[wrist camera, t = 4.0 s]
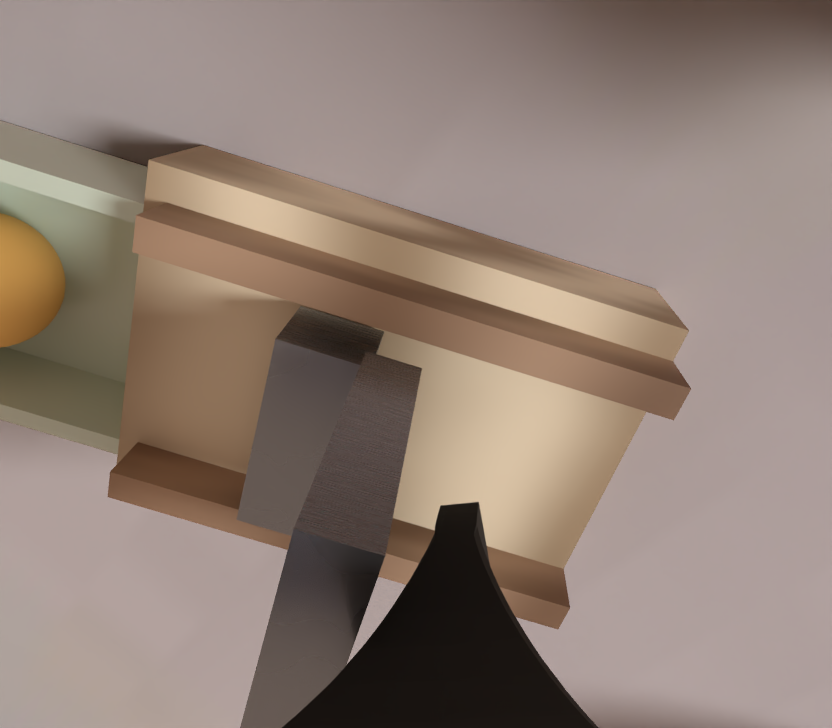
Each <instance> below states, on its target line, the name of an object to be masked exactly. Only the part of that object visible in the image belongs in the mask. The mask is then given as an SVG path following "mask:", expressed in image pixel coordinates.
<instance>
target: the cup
mask: <svg viewBox="0 0 832 728" xmlns="http://www.w3.org/2000/svg"><path fill="white" fill-rule="evenodd" d="M147 170H148V167H146V166H143V165H140V164H137V163H133V162H130V161H127V160H124V159H121V158H118V157H114V156H111V155H108V154H105V153H102V152H99V151H95V150H92V149H89V148H86V147H83V146H80V145H76V144H73V143H70V142H67V141H64V140H61V139H57V138H54V137H51V136H48V135H45V134H42V133H38V132H35V131H32V130H29V129H26V128H23V127H19V126H16V125H13V124H10V123H7V122H4V121H0V213H2V214H6V215H9V216H12V217H14V218H17V219H19V220H21V221H23V222H25V223H26V224H28V225H30V226H32V227H33V228H34V229H35V230H37V231H38V232H39V233H41V234H42V235H43V236H44V237H45V238H46V239H47V240H48V242H49V243H50V244H51V245H52V246H53V248H54V249H55V251H56V253H57V255H58V256H59V258H60V261H61V263H62V266H63V269H64V274H65V294H64V299H63V302H62V305H61V307H60V309H59V311H58V313H57V315H56V316H55V318H54V319H53V321H52V322H51V323H50V324H49V325H48V326H47V327H46V328H45V329H44V330H42V331H41V332H40V333H39V334H37V335H35V336H34V337H32V338H30V339H28V340H26V341H24V342H21V343H19V344H15V345H11V346H7V347H1V348H0V420H3V421H7V422H10V423H13V424H17V425H20V426H24V427H27V428H30V429H34V430H37V431H40V432H44V433H47V434H50V435H54V436H57V437H61V438H64V439H67V440H71V441H74V442H77V443H81V444H84V445H87V446H91V447H94V448H98V449H101V450H104V451H108V452H111V453H114V454H118V447H119V438H120V428H121V418H122V409H123V399H124V390H125V380H126V371H127V361H128V352H129V342H130V333H131V323H132V313H133V304H134V294H135V285H136V275H137V266H138V256H139V254H136V253H133V252H132V249H133V239H134V229H135V219H136V215H138V214H140V213H143V208H144V199H145V189H146V180H147Z"/></svg>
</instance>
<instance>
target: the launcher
mask: <svg viewBox="0 0 832 728" xmlns="http://www.w3.org/2000/svg"><path fill="white" fill-rule="evenodd" d="M132 252H133V253H136V254H139V256H138V266H137V275H136V285H135V294H134V304H133V313H132V323H131V333H130V342H129V352H128V361H127V371H126V380H125V390H124V399H123V409H122V418H121V428H120V438H119V447H118V457H117V465H116V466H115V467H114V468H113V469H112V470H111V472H110V479H109V489H108V497H110V498H113V499H117V500H120V501H124V502H127V503H130V504H134V505H137V506H141V507H144V508H147V509H151V510H154V511H158V512H161V513H164V514H168V515H171V516H175V517H178V518H181V519H185V520H188V521H192V522H195V523H198V524H202V525H205V526H208V527H212V528H215V529H219V530H222V531H225V532H229V533H232V534H236V535H239V536H242V537H246V538H249V539H253V540H256V541H259V542H263V543H266V544H270V545H273V546H276V547H280V548H283V549H287V550H288V548H289V544H290V540H291V537H292V536H290V535H286V534H283V533H279V532H276V531H273V530H269V529H266V528H262V527H259V526H256V525H252V524H249V523H246V522H242V521H239V520H236V519H237V515H238V510H239V506H240V501H241V496H242V492H243V487H244V482H245V478H246V473H247V468H248V464H249V459H250V454H251V450H252V445H253V441H254V436H255V431H256V427H257V422H258V417H259V413H260V408H261V403H262V399H263V394H264V390H265V385H266V380H267V376H268V371H269V366H270V362H271V357H272V352H273V348H274V343H275V339H276V338H277V336H278V335H279V334H280V332H281V331H282V330H283V328H284V327H285V326H286V324H287V323H288V322H289V321H290V319H291V318H292V317H293V315H294V314H295V313H296V311H297V310H298V309H299V307H300V306H303V307H306V308H310V309H313V310H316V311H319V312H323V313H326V314H329V315H332V316H335V317H339V318H342V319H345V320H348V321H352V322H355V323H358V324H361V325H364V326H368V327H371V328H374V329H377V330H381V331H384V334H383V338H382V341H381V345H380V348H379V351H378V355H381V356H384V357H387V358H391V359H394V360H397V361H400V362H404V363H407V364H410V365H413V366H417V367H420V368H422V371H421V376H420V382H419V387H418V392H417V397H416V402H415V407H414V412H413V417H412V422H411V427H410V433H409V438H408V443H407V448H406V453H405V458H404V463H403V468H402V473H401V478H400V483H399V489H398V494H397V499H396V504H395V509H394V514H393V519H392V524H391V529H390V534H389V540H388V545H387V550H386V555H385V558H384V561H383V564H382V567H381V569H380V572H379V575H378V577H382V578H385V579H389V580H392V581H395V582H399V583H402V584H406V585H407V583H408V582H409V580H410V579H411V577H412V575H413V573H414V572H415V570H416V568H417V566H418V564H419V563H420V561H421V559H422V557H423V555H424V553H425V552H426V550H427V548H428V546H429V544H430V542H431V540H432V538H433V536H434V534H435V524H436V520H437V515H438V512H439V509H440V506H441V505H451V504H461V503H472V502H479V506H480V511H481V517H482V523H483V528H484V534H485V540H486V545H487V551H488V557H489V562H490V566H491V569H492V571H493V574H494V576H495V578H496V580H497V583H498V585H499V587H500V589H501V591H502V593H503V595H504V597H505V599H506V601H507V603H508V605H509V606H510V608H511V610H512V612H513V614H514V615H515V617H518V618H521V619H525V620H528V621H531V622H535V623H538V624H542V625H545V626H548V627H552V628H555V629H559V627H560V625H561V623H562V621H563V620H564V618H565V616H566V614H567V612H568V611H569V609H570V605H569V599H568V593H567V587H566V581H565V575H564V567H565V565H566V563H567V561H568V559H569V557H570V556H571V554H572V552H573V550H574V548H575V546H576V544H577V542H578V540H579V538H580V537H581V535H582V533H583V531H584V529H585V527H586V525H587V523H588V521H589V520H590V518H591V516H592V514H593V512H594V510H595V508H596V506H597V504H598V502H599V501H600V499H601V497H602V495H603V493H604V491H605V489H606V487H607V485H608V483H609V482H610V480H611V478H612V476H613V474H614V472H615V470H616V468H617V466H618V464H619V463H620V461H621V459H622V457H623V455H624V453H625V451H626V449H627V447H628V446H629V444H630V442H631V440H632V438H633V436H634V434H635V432H636V430H637V428H638V427H639V425H640V423H641V421H642V419H643V417H644V415H645V413H646V412H649V413H652V414H656V415H659V416H662V417H665V418H668V419H672V420H674V419H675V417H676V415H677V413H678V412H679V410H680V408H681V406H682V404H683V403H684V401H685V399H686V397H687V395H688V394H689V392H690V390H691V388H690V386H689V385H688V383H687V382H686V380H685V379H684V377H683V376H682V374H681V373H680V371H679V370H678V368H677V367H676V365H675V364H674V362H673V360H674V358H675V356H676V354H677V353H678V351H679V349H680V347H681V345H682V343H683V341H684V339H685V337H686V335H687V334H688V332H689V330H688V329H687V327H686V326H685V325H684V324H683V322H682V321H681V320H680V319H679V317H678V316H677V315H676V314H675V312H674V311H673V310H672V309H671V308H670V306H669V305H668V304H667V303H666V301H665V300H664V299H663V298H662V296H661V295H660V294H659V293H658V291H657V290H656V289H654V288H651V287H647V286H644V285H641V284H638V283H635V282H632V281H629V280H625V279H622V278H619V277H616V276H613V275H610V274H607V273H603V272H600V271H597V270H594V269H591V268H588V267H585V266H581V265H578V264H575V263H572V262H569V261H566V260H563V259H559V258H556V257H553V256H550V255H547V254H544V253H541V252H537V251H534V250H531V249H528V248H525V247H522V246H519V245H515V244H512V243H509V242H506V241H503V240H500V239H497V238H493V237H490V236H487V235H484V234H481V233H478V232H475V231H471V230H468V229H465V228H462V227H459V226H456V225H453V224H450V223H446V222H443V221H440V220H437V219H434V218H431V217H428V216H424V215H421V214H418V213H415V212H412V211H409V210H406V209H402V208H399V207H396V206H393V205H390V204H387V203H384V202H380V201H377V200H374V199H371V198H368V197H365V196H362V195H358V194H355V193H352V192H349V191H346V190H343V189H340V188H336V187H333V186H330V185H327V184H324V183H321V182H318V181H314V180H311V179H308V178H305V177H302V176H299V175H296V174H292V173H289V172H286V171H283V170H280V169H277V168H274V167H270V166H267V165H264V164H261V163H258V162H255V161H252V160H248V159H245V158H242V157H239V156H236V155H233V154H230V153H226V152H223V151H220V150H217V149H214V148H211V147H208V146H204V145H201V146H198V147H194V148H190V149H187V150H183V151H179V152H175V153H172V154H168V155H164V156H160V157H157V158H153V159H149V161H148V170H147V180H146V189H145V199H144V208H143V213H140V214H138V215H136V219H135V229H134V239H133V249H132Z"/></svg>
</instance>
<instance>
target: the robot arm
mask: <svg viewBox="0 0 832 728" xmlns="http://www.w3.org/2000/svg"><path fill="white" fill-rule="evenodd" d="M282 728H598V727H597V726H596V725H595V724H594V722H593V721H592V720H591V719H590V718H589V717H588V716H587V715H586V714H585V712H584V711H583V710H582V709H581V708H580V707H579V705H578V704H577V703H576V702H575V701H574V700H573V698H572V697H571V696H570V695H569V694H568V692H567V691H566V690H565V688H564V687H563V686H562V685H561V683H560V682H559V681H558V679H557V678H556V677H555V675H554V674H553V673H552V671H551V670H550V669H549V667H548V666H547V665H546V663H545V662H544V661H543V659H542V658H541V657H540V655H539V654H538V652H537V651H536V649H535V648H534V646H533V645H532V643H531V642H530V640H529V639H528V637H527V635H526V634H525V632H524V631H523V629H522V627H521V626H520V624H519V622H518V621H517V619H516V617H515V615H514V614H513V612H512V610H511V608H510V606H509V605H508V603H507V601H506V599H505V597H504V595H503V593H502V591H501V589H500V587H499V585H498V583H497V580H496V578H495V576H494V574H493V571H492V569H491V566H490V562H489V557H488V551H487V545H486V540H485V534H484V528H483V523H482V517H481V511H480V506H479V502H472V503H461V504H451V505H441V506H440V509H439V512H438V515H437V520H436V524H435V534H434V536H433V538H432V540H431V542H430V544H429V546H428V548H427V550H426V552H425V553H424V555H423V557H422V559H421V561H420V563H419V564H418V566H417V568H416V570H415V572H414V573H413V575H412V577H411V579H410V580H409V582H408V583H407V585H406V587H405V588H404V590H403V591H402V593H401V594H400V596H399V597H398V599H397V601H396V602H395V604H394V605H393V607H392V608H391V610H390V611H389V613H388V614H387V615H386V617H385V618H384V620H383V621H382V622H381V624H380V625H379V626H378V628H377V629H376V630H375V632H374V633H373V634H372V635H371V637H370V638H369V639H368V641H367V642H366V643H365V644H364V646H363V647H362V648H361V649H360V650H359V651H358V653H357V654H356V655H355V656H354V657H353V658H352V659H351V661H350V662H349V663H348V664H347V665H346V666H345V667H344V669H343V670H342V671H341V672H340V673H339V674H338V675H337V676H336V677H335V678H334V679H333V680H332V681H331V683H330V684H329V685H328V686H327V687H326V688H325V689H323V690H322V691H321V692H320V693H319V694H318V695H317V696H316V697H315V698H314V699H313V700H312V701H311V702H310V703H309V704H308V705H307V706H306V707H305V708H303V709H302V710H301V711H300V712H299V713H298V714H297V715H296V716H295V717H293V718H292V719H291V720H290V721H289V722H288V723H286V724H285V725H284V726H283V727H282Z"/></svg>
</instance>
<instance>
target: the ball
mask: <svg viewBox="0 0 832 728" xmlns="http://www.w3.org/2000/svg"><path fill="white" fill-rule="evenodd" d="M64 294H65V274H64V269H63V266H62V263H61V261H60V258H59V256H58V255H57V253H56V251H55V249H54V248H53V246H52V245H51V244H50V243H49V242H48V240H47V239H46V238H45V237H44V236H43V235H42V234H41V233H39V232H38V231H37V230H35V229H34V228H33V227H32V226H30V225H28V224H26V223H25V222H23V221H21V220H19V219H17V218H14V217H12V216H9V215H6V214H2V213H0V348H1V347H7V346H11V345H15V344H19V343H21V342H24V341H26V340H28V339H30V338H32V337H34V336H35V335H37V334H39V333H40V332H41V331H42V330H44V329H45V328H46V327H47V326H48V325H49V324H50V323H51V322H52V321H53V319H54V318H55V316H56V315H57V313H58V311H59V309H60V307H61V305H62V302H63V299H64Z"/></svg>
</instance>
